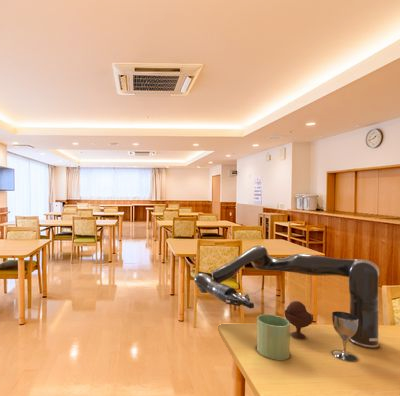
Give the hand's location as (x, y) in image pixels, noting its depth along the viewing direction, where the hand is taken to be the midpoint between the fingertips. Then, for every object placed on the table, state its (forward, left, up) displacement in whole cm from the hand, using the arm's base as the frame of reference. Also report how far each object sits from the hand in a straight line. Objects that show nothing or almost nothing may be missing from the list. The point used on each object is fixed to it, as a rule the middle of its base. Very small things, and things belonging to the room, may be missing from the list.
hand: (252, 306), depth 119 cm
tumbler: (+5, +9, -14) cm, 17 cm away
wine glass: (-8, +31, -14) cm, 35 cm away
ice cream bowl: (-15, +15, -14) cm, 25 cm away
